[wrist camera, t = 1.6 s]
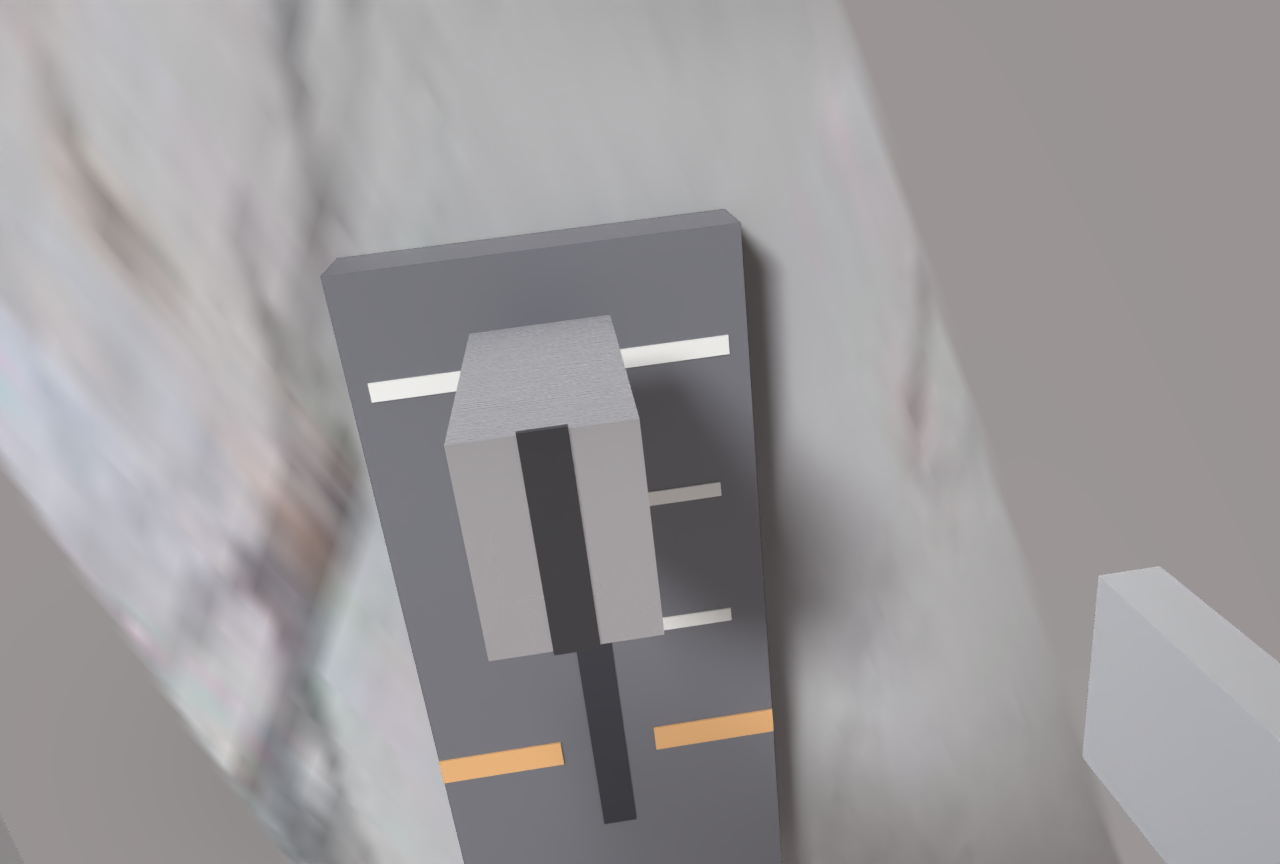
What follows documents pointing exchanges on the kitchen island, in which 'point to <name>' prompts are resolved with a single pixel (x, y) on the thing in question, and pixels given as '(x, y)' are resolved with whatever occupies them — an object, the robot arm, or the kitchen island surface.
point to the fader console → (682, 532)
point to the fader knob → (553, 490)
